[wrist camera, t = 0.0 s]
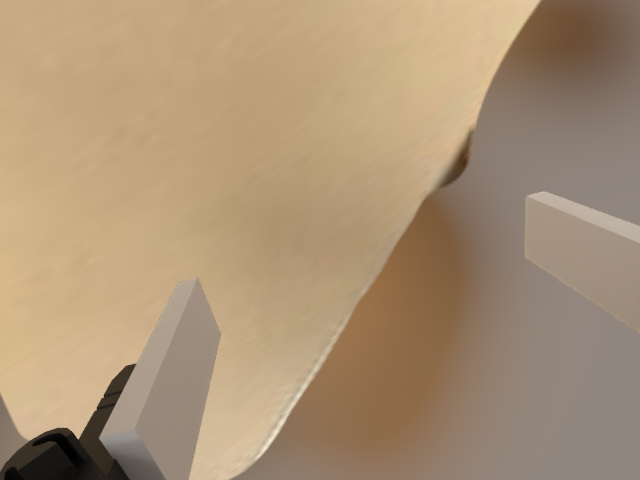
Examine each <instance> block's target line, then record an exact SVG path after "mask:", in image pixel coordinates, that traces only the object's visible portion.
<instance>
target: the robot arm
mask: <svg viewBox="0 0 640 480" xmlns="http://www.w3.org/2000/svg"><path fill="white" fill-rule="evenodd" d="M525 258H526V259H528V260H529V261H531V262H532V263H534V264H535V265H537V266H538V267H540V268H541V269H543V270H544V271H546V272H547V273H549V274H550V275H552V276H554V277H555V278H556V279H558V280H559V281H561V282H562V283H564V284H565V285H567V286H568V287H570V288H572V289H573V290H575V291H576V292H577V293H579V294H580V295H582V296H584V297H585V298H587V299H588V300H590V301H591V302H593V303H594V304H596V305H597V306H599V307H600V308H602V309H603V310H605V311H606V312H608V313H609V314H611V315H612V316H614V317H615V318H617V319H618V320H620V321H621V322H623V323H624V324H626V325H627V326H629V327H630V328H632V329H633V330H635V331H636V332H638V333H639V334H640V226H637V225H635V224H632V223H629V222H627V221H624V220H621V219H618V218H616V217H613V216H610V215H607V214H605V213H602V212H600V211H597V210H594V209H591V208H589V207H586V206H583V205H581V204H578V203H575V202H572V201H570V200H567V199H564V198H562V197H559V196H556V195H553V194H551V193H548V192H545V191H544V192H540V193H536V194H532V195H528V196H526V215H525ZM220 336H221V333H220V330H219V328H218V325H217V323H216V320H215V318H214V316H213V313H212V311H211V308H210V306H209V304H208V301H207V299H206V296H205V294H204V291H203V289H202V287H201V284H200V282H199V279H198V277H197V278H193V279H189V280H185V281H181V282H178V283H177V285H176V287H175V289H174V291H173V293H172V295H171V297H170V299H169V301H168V303H167V305H166V307H165V309H164V311H163V313H162V315H161V317H160V319H159V321H158V323H157V325H156V327H155V329H154V331H153V333H152V335H151V336H150V338H149V340H148V342H147V344H146V346H145V348H144V350H143V352H142V354H141V356H140V358H139V360H138V362H137V363H136V364H132V365H128V366H125V367H124V369H123V370H122V371H121V372H120V373H119V374H118V375H117V376H116V377H115V378H114V379H113V380H112V381H111V383H110V385H109V387H108V388H107V390H106V392H105V394H104V398H102V399H101V401H100V403H99V404H98V406H97V411H94V413H93V415H92V417H91V419H90V420H89V422H88V424H87V426H86V427H85V429H84V431H83V433H82V434H81V436H80V438H79V440H78V439H77V438H76V436H75V435H74V433H73V432H72V431H70V430H69V429H68V428H56V429H53V430H50V431H47V432H45V433H43V434H41V435H39V436H37V437H36V438H34V439H32V440H31V441H29V442H28V443H27V444H25V445H24V446H23V447H22V448H20V449H19V450H18V451H17V452H16V453H15V454H14V455H13V456H12V457H11V458H10V459H9V460H8V461H7V462H6V463H5V465H4V467H3V468H2V470H1V472H0V480H189V475H190V471H191V466H192V462H193V457H194V453H195V448H196V444H197V439H198V435H199V430H200V426H201V421H202V417H203V413H204V408H205V404H206V399H207V395H208V390H209V386H210V381H211V377H212V372H213V368H214V363H215V359H216V354H217V350H218V345H219V341H220Z"/></svg>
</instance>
